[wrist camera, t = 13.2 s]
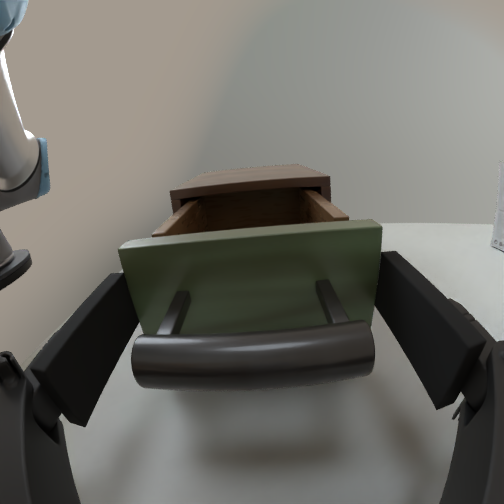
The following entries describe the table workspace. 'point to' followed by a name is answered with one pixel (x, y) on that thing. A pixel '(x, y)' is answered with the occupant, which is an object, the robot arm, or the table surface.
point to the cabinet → (251, 182)
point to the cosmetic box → (499, 213)
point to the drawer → (254, 293)
